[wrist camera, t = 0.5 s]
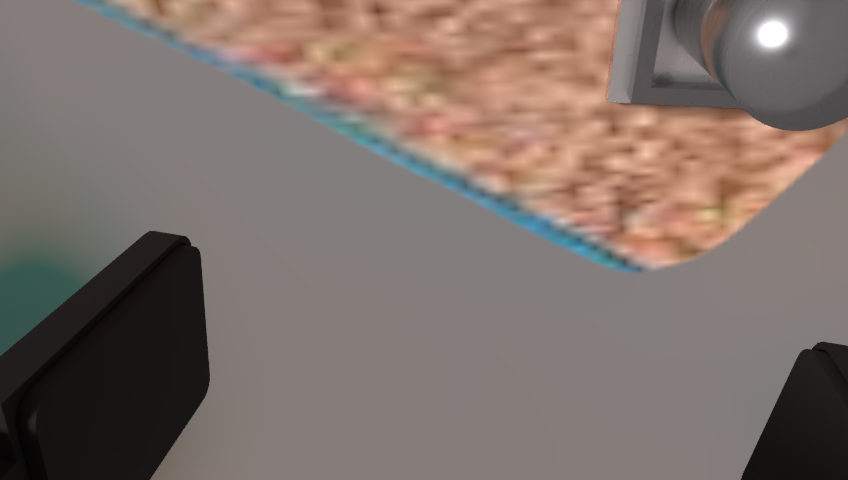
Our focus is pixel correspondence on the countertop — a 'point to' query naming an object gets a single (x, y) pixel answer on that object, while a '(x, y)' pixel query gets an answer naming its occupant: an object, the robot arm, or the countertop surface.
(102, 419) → the robot arm
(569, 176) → the countertop surface
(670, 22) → the tray
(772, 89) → the cylinder
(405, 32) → the countertop surface
